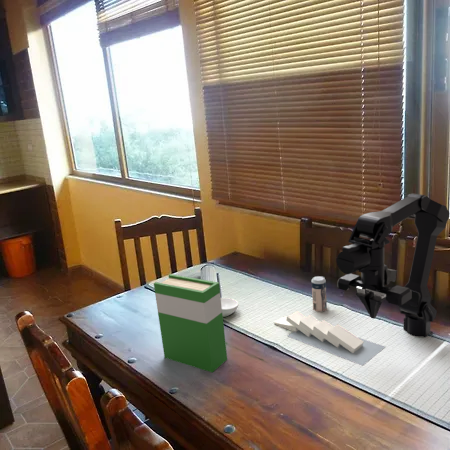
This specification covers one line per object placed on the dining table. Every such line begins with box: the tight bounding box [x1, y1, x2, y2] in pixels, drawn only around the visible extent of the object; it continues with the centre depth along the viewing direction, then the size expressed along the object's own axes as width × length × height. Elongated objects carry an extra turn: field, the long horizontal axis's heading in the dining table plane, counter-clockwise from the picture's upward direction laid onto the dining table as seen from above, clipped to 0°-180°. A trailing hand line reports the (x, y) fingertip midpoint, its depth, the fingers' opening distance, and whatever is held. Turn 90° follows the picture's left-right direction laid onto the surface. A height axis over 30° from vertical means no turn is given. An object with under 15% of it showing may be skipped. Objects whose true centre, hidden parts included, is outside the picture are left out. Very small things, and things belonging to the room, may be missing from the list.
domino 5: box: [327, 323, 364, 353], centre depth 133 cm, size 2×5×9 cm
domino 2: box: [286, 310, 312, 337], centre depth 144 cm, size 2×5×9 cm
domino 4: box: [313, 319, 341, 348], centre depth 137 cm, size 2×5×9 cm
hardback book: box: [153, 273, 228, 374], centre depth 133 cm, size 18×7×24 cm, turn 56°
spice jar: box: [310, 275, 328, 313], centre depth 156 cm, size 5×5×12 cm
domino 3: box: [299, 314, 326, 342], centre depth 141 cm, size 2×5×9 cm
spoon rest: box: [221, 297, 240, 318], centre depth 159 cm, size 24×12×7 cm, turn 132°
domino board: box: [286, 330, 386, 367], centre depth 137 cm, size 26×12×1 cm, turn 43°
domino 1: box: [273, 316, 298, 332], centre depth 148 cm, size 2×5×9 cm
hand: (373, 317), depth 124 cm, fingers closed
